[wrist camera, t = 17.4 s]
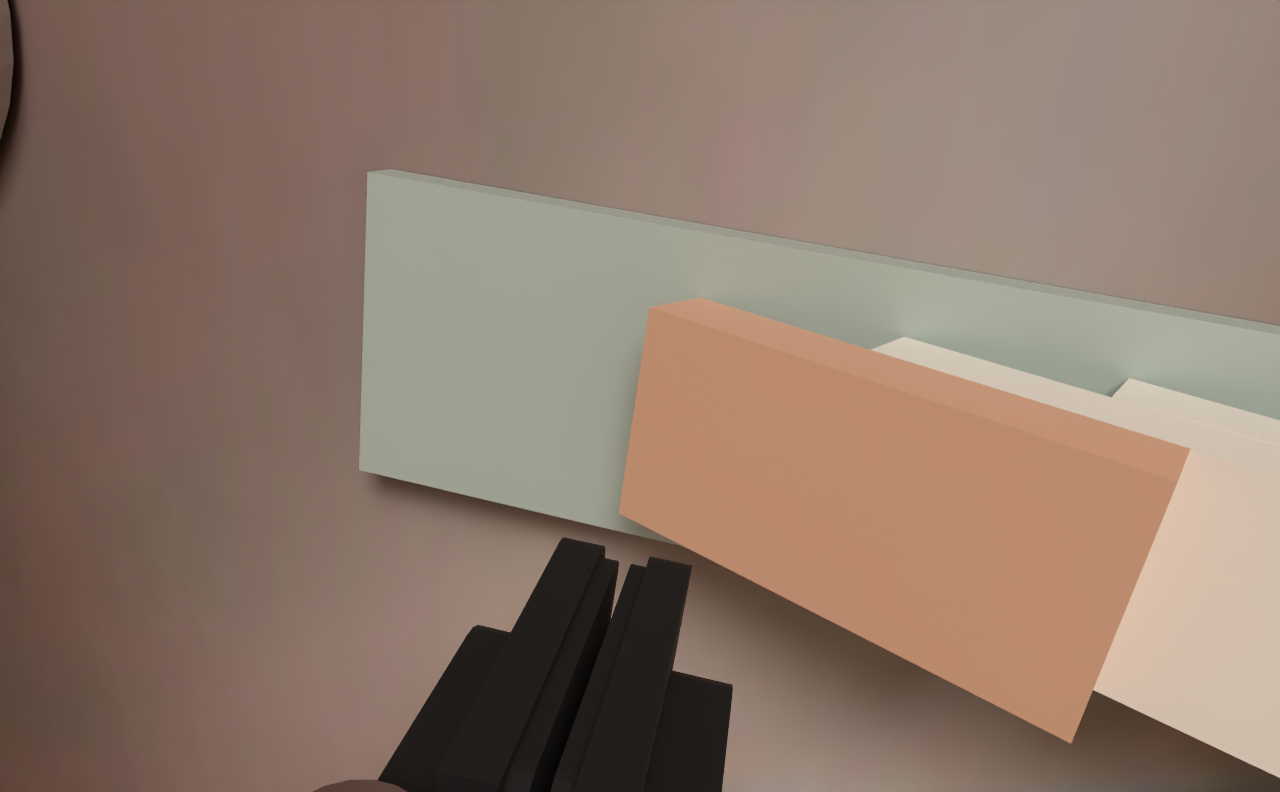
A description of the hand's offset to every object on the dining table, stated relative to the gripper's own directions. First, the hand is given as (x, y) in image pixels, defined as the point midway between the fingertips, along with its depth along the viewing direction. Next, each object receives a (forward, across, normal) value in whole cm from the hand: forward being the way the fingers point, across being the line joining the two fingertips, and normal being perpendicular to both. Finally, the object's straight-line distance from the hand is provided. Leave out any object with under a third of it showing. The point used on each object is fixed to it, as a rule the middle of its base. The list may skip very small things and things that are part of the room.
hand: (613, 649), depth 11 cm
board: (+11, -5, 0) cm, 12 cm away
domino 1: (+9, +1, 0) cm, 9 cm away
